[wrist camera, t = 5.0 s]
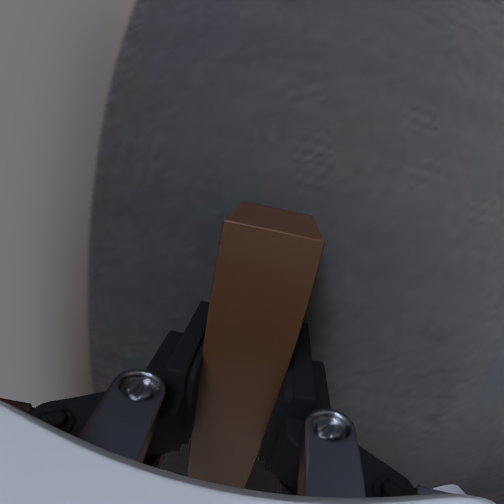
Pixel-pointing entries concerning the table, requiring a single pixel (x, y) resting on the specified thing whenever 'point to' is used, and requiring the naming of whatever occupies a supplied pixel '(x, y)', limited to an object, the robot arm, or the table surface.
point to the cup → (450, 489)
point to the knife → (250, 335)
